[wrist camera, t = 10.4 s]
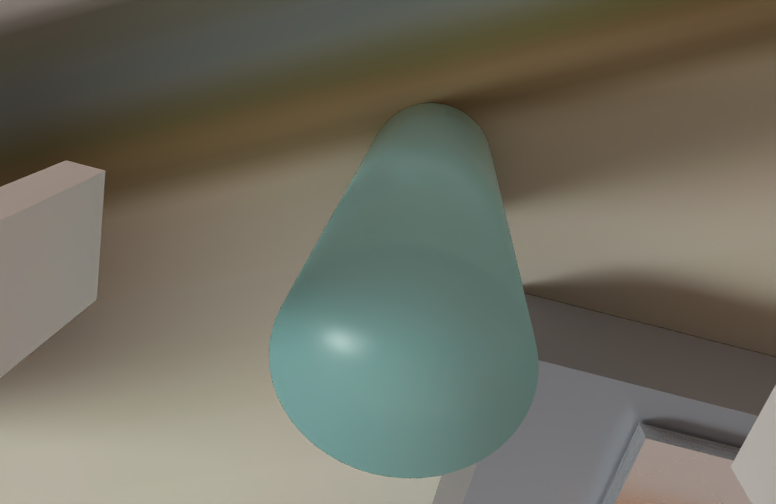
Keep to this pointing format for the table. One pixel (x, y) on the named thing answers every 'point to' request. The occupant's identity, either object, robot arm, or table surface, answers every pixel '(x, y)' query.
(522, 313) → the plug peg
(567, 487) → the socket
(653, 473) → the shutter
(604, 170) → the table surface
